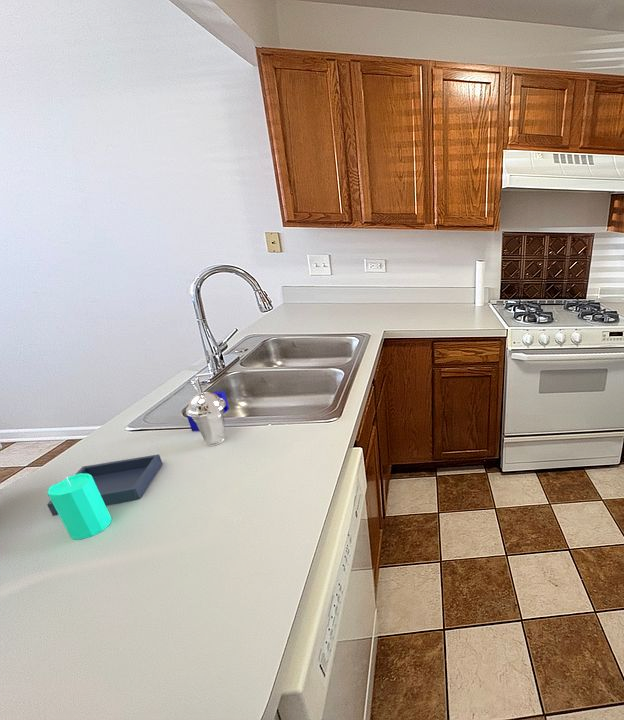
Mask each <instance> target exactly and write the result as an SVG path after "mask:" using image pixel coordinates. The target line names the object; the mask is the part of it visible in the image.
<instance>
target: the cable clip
mask: <svg viewBox="0 0 624 720" xmlns="http://www.w3.org/2000/svg"><path fill="white" fill-rule="evenodd" d="M212 393H214V394H216V395H217V396H218V397H219V398H221V399H223V400H224V401H225V402H226V406H225V407H224V408H223V409H224V411H223V412H224V414H226V413H227V412H228V411H229V410H230V406H229V403H228V399H227V396H226V392H225V391H224V390H223V391H221V390H220V391H219V390H217V391H216V390H215V391H213V392H212ZM186 417H187V420H188V421H187V422H188V424H189V426H190V429H191V430H190V431H191V432H200V431H199V429H198V427H197V424H196V423H195V422H194V420H193V419H192V417H191V416H188V415H187V414H186Z"/></svg>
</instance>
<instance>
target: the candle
mask: <svg viewBox="0 0 624 720" xmlns="http://www.w3.org/2000/svg"><path fill="white" fill-rule="evenodd" d="M75 474H76V473H75ZM75 474H73V475H70V476H66V477H65V478H64V479H63V480H61V481H59V482H58V483H55V484H53V485H51V486H49V488H48V490H47V493H46V494H47V495H48V497H49V499H50V501H52V503H53V505H54V507H55V509H56V511H57V513H58V516H59V518H60V520H61V522H62V524H63V526H64V528H65V530H66V531H67V533H68V536H69V537H70V538H71V539H72V540H84V539H87V538H90V537H94V536H95V535H97V534H99V533H101V532H103V531H104V530H105V529H106V528H108V527H109V526H110V525H111V523H112V520H113V519H112V516H111V514H110V512H109V509H108V508H107V505H105V503H104V501H103V499H102V497H101V495H100V493H99V490H98V488H97V486H96V484H95V482H94V480H93V477H92V476H91V475H90V474H85V473H80V474H76V475H75Z"/></svg>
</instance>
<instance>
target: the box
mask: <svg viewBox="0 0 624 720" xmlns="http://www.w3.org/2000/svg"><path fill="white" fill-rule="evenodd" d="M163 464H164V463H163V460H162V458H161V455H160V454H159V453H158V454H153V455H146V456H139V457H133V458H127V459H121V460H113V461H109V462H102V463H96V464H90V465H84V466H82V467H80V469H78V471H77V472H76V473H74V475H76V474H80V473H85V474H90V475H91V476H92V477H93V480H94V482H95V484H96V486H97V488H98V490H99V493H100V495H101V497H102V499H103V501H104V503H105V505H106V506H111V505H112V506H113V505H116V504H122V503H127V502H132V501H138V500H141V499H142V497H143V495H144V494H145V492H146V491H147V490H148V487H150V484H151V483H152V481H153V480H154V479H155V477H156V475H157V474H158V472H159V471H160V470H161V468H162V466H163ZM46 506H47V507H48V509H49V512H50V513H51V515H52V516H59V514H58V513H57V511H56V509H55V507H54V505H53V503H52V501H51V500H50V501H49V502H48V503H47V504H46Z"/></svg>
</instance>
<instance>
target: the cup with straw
mask: <svg viewBox="0 0 624 720" xmlns="http://www.w3.org/2000/svg"><path fill="white" fill-rule="evenodd" d="M210 376H216V372H214V371H213V372H205V373H197V374H195V376H194V380H195V383H196V387H197V390H198V393H197V394H195V395H194V396H193V397H191V399H190V400H189V403H188V406H187V407H186V409H185V415H186V416H187V415H188V416H191V417H192V419H193V420H194V422H195V423H196V424H197V427H198V429H199V431H198V432H200V434H201V437H202V439H203V440H204V442H205V444H206V446H208V447H213V446H217V445H221V444H223V443H224V442H225V441H226V440H227V436H226V435H227V431H226V424H225V417H224V415H225V413H224V412H223V411H224V409H223V408H224V407H225V406H226V402H225V401H224V400H223V399H221V398H219V397H218V396H217V395H216V394H214V393H213V392H211V391H203V389H202V388H203V387H202V385H201V382H200V379H199V378H202V377H210Z"/></svg>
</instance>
